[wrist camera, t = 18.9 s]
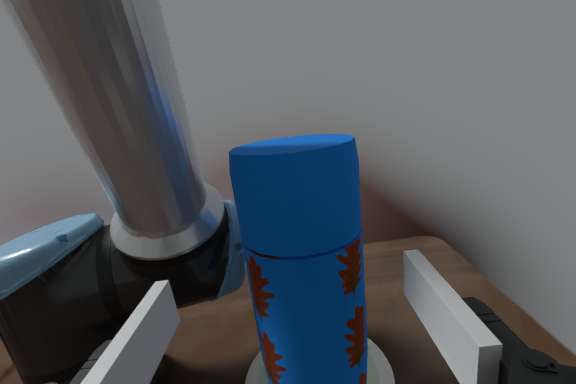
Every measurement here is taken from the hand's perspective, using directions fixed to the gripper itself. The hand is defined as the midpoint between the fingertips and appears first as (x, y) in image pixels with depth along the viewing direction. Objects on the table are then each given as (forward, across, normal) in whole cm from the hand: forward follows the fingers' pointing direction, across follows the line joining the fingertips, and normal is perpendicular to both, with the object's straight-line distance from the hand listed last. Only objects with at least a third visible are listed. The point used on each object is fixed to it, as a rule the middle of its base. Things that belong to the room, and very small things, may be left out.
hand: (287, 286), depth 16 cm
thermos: (+11, +1, -19) cm, 22 cm away
